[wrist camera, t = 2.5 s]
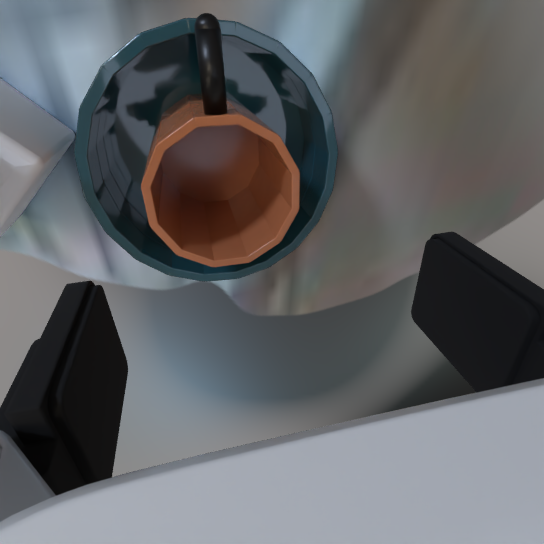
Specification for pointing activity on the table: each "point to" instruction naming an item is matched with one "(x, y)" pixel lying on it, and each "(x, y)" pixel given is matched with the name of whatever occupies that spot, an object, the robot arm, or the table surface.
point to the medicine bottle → (26, 151)
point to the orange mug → (218, 171)
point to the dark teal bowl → (165, 93)
